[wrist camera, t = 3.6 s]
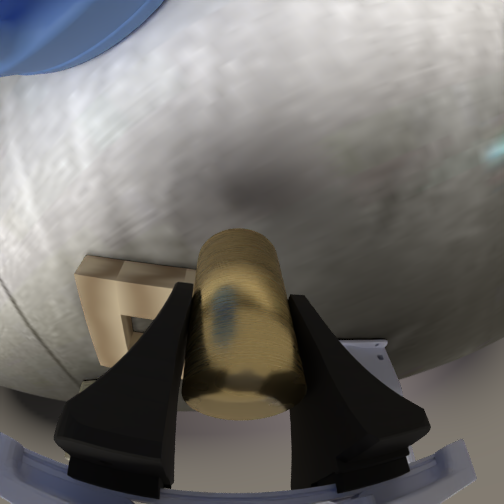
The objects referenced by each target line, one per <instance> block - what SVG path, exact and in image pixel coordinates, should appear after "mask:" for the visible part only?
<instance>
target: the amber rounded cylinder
mask: <svg viewBox="0 0 504 504" xmlns="http://www.w3.org/2000/svg"><path fill="white" fill-rule="evenodd" d="M306 391H307V386H306V381H305V376H304V371H303V367H302V362H301V358H300V353H299V348H298V344H297V339H296V335H295V330H294V326H293V321H292V317H291V312H290V308H289V304H288V299H287V295H286V291H285V286H284V282H283V278H282V274H281V269H280V265H279V261H278V257H277V253H276V250H275V248H274V246H273V245H272V243H271V242H270V241H269V240H268V239H267V238H266V237H265V236H263V235H261V234H260V233H257V232H255V231H252V230H248V229H240V228H237V229H228V230H225V231H222V232H219V233H217V234H215V235H213V236H212V237H211V238H209V239H208V240H207V241H206V242H205V244H204V245H203V246H202V248H201V250H200V253H199V257H198V263H197V269H196V276H195V283H194V290H193V297H192V305H191V313H190V320H189V328H188V336H187V345H186V354H185V363H184V373H183V383H182V397H183V399H184V401H185V402H186V403H187V404H188V405H189V406H190V407H191V408H193V409H194V410H196V411H198V412H200V413H202V414H205V415H208V416H211V417H215V418H220V419H227V420H254V419H261V418H266V417H270V416H274V415H277V414H280V413H282V412H284V411H287V410H288V409H290V408H292V407H294V406H295V405H297V404H298V403H299V402H300V401H301V400H302V399H303V397H304V396H305V394H306Z"/></svg>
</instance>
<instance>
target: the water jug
mask: <svg viewBox="0 0 504 504" xmlns="http://www.w3.org/2000/svg"><path fill="white" fill-rule="evenodd" d="M163 1H164V0H0V77H3V76H10V75H35V74H45V73H52V72H57V71H61V70H65V69H68V68H71V67H74V66H76V65H79V64H81V63H83V62H86V61H88V60H90V59H92V58H94V57H96V56H97V55H99V54H101V53H103V52H104V51H106V50H108V49H109V48H111V47H112V46H114V45H115V44H117V43H118V42H119V41H121V40H122V39H124V38H125V37H126V36H127V35H129V34H130V33H131V32H132V31H134V30H135V29H136V28H137V27H138V26H140V25H141V24H142V23H143V22H144V21H145V20H146V19H147V18H148V17H149V16H150V15H151V14H152V13H153V12H154V11H155V10H156V9H157V8H158V7H159V6H160V5H161V4H162V2H163Z"/></svg>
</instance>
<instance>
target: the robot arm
mask: <svg viewBox="0 0 504 504" xmlns="http://www.w3.org/2000/svg"><path fill="white" fill-rule="evenodd" d="M193 286H194V284H192V283H184V282H177V283H175V285H174V288H173V290H172V292H171V294H170V295H169V297H168V299H167V301H166V302H165V304H164V306H163V307H162V309H161V310H160V311H159V313H158V314H157V316H156V317H155V319H154V320H153V322H152V323H151V324H150V326H149V327H148V328H147V329H146V331H145V332H144V333H143V335H142V336H141V337H140V338H139V339H138V341H137V342H136V343H135V344H134V345H133V346H132V347H131V348H130V350H129V351H128V352H127V353H126V354H125V355H124V356H123V357H122V358H121V359H120V360H119V361H118V362H117V363H116V364H115V365H114V366H112V367H111V368H110V369H109V370H108V371H107V372H106V373H104V374H103V375H102V376H101V377H100V378H98V379H97V380H96V381H95V382H94V383H92V384H91V385H90V386H88V387H87V388H86V389H84V390H83V391H81V392H80V393H78V394H77V395H75V396H74V397H73V398H71V399H70V400H68V401H67V402H66V404H65V405H64V407H63V409H62V412H61V415H60V416H59V419H58V422H57V426H56V430H55V434H54V441H55V442H56V443H57V445H58V446H59V447H61V448H62V449H63V450H64V451H65V452H66V453H68V454H69V455H70V460H69V466H68V465H66V464H63V463H60V462H57V461H55V460H52V459H50V458H47V457H45V456H42V455H40V454H38V453H35V452H33V451H30V450H28V449H26V448H24V447H23V446H22V445H21V444H20V443H19V442H17V441H16V440H14V439H12V438H11V437H9V436H7V435H5V434H3V433H1V432H0V497H1V498H3V499H5V500H6V501H8V502H10V503H11V504H135V503H133V502H132V501H136V502H141V503H147V504H441V503H442V502H444V501H445V500H446V499H448V498H450V497H451V496H453V495H454V494H456V493H457V492H459V491H460V490H462V489H463V488H465V487H466V486H468V485H469V484H471V483H472V482H474V481H475V480H476V479H477V477H476V474H475V471H474V468H473V465H472V462H471V459H470V456H469V454H468V451H467V448H466V445H465V443H464V440H463V439H460V440H458V441H455V442H453V443H451V444H449V445H447V446H445V447H443V448H442V449H440V450H438V451H437V452H435V454H433V455H430V456H428V457H425V458H422V459H420V460H417V461H415V457H414V453H413V450H412V446H411V445H412V444H413V443H415V442H416V441H418V440H419V439H421V438H422V437H423V436H425V435H426V434H427V433H428V432H429V430H430V428H431V426H430V424H429V421H428V418H427V416H426V413H425V411H424V409H423V408H421V407H419V406H418V405H416V404H414V403H412V402H410V401H409V400H407V399H405V398H404V397H403V394H402V388H401V385H400V382H399V380H398V378H397V375H396V373H395V371H394V368H393V366H392V364H391V361H390V359H389V357H388V354H387V352H386V350H385V346H386V345H387V343H388V342H387V340H385V339H384V340H338V339H337V338H336V336H335V335H334V334H333V333H332V332H331V330H330V329H329V328H328V326H327V325H326V324H325V323H324V321H323V320H322V319H321V317H320V316H319V314H318V313H317V312H316V310H315V309H314V308H313V306H312V305H311V304H310V302H309V301H308V300H307V298H306V297H305V296H304V295H292V294H290V297H289V299H288V304H289V308H290V312H291V317H292V321H293V326H294V330H295V335H296V339H297V344H298V348H299V353H300V358H301V362H302V367H303V371H304V376H305V381H306V386H307V391H306V394H305V396H304V397H303V399H302V400H301V401H300V402H299V403H298V404H297V405H295V406H294V407H292V408H290V421H291V443H292V466H291V490H289V491H277V492H262V493H208V492H193V491H182V490H172V489H171V485H172V484H173V483H174V454H175V432H176V415H177V402H178V393H179V387H180V381H181V376H182V371H183V366H184V361H185V354H186V345H187V336H188V328H189V320H190V313H191V305H192V297H193ZM165 488H169V489H165Z"/></svg>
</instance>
